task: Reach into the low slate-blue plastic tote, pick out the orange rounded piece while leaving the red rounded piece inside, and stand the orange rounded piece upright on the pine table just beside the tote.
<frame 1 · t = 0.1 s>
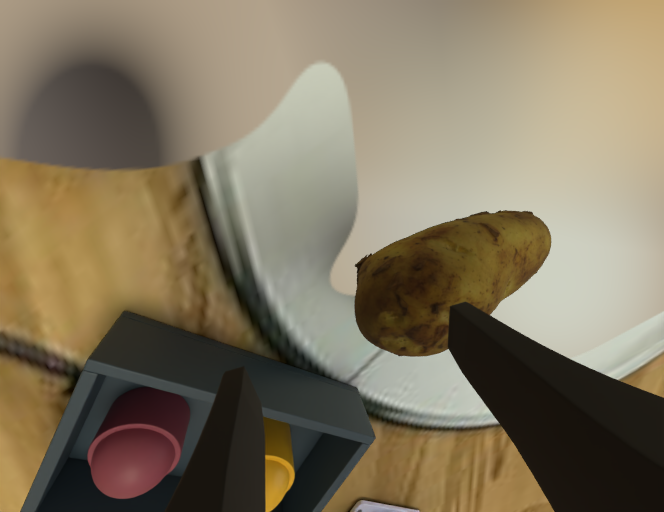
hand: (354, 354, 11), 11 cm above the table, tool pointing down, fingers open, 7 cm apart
orange rounded piece: (258, 434, 24), point 1 cm above the table, touching tote
red rounded piece: (150, 415, 22), point 1 cm above the table, touching tote
potato: (424, 253, 23), on the table
tote: (218, 418, 24), on the table
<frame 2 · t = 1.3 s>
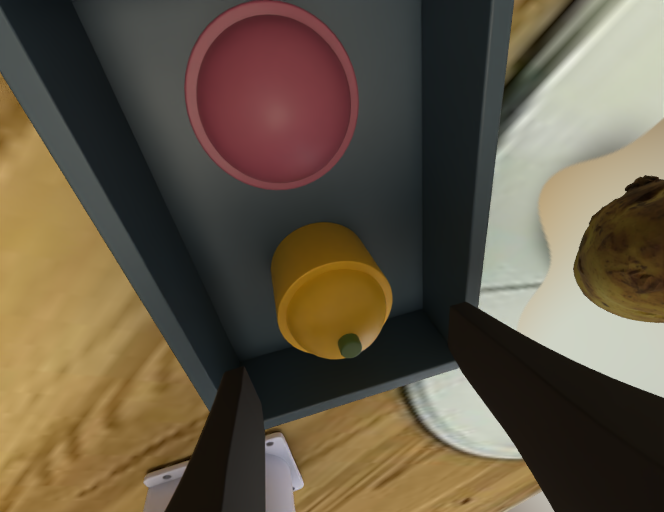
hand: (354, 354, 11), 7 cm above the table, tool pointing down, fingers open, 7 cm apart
orange rounded piece: (319, 266, 16), point 1 cm above the table, touching tote
red rounded piece: (270, 99, 12), point 1 cm above the table, touching tote
potato: (596, 236, 21), on the table
tote: (305, 202, 15), on the table
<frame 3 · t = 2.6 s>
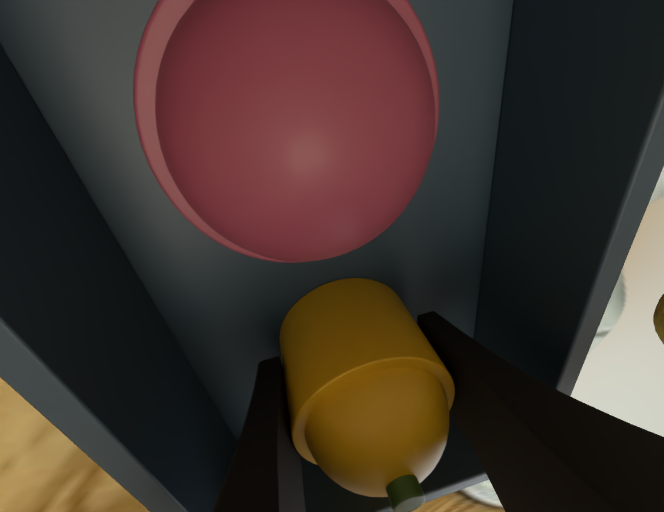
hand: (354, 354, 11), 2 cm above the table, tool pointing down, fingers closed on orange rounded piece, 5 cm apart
orange rounded piece: (343, 330, 12), point 1 cm above the table, touching gripper, tote
red rounded piece: (284, 113, 8), point 1 cm above the table, touching tote
tote: (327, 250, 11), on the table
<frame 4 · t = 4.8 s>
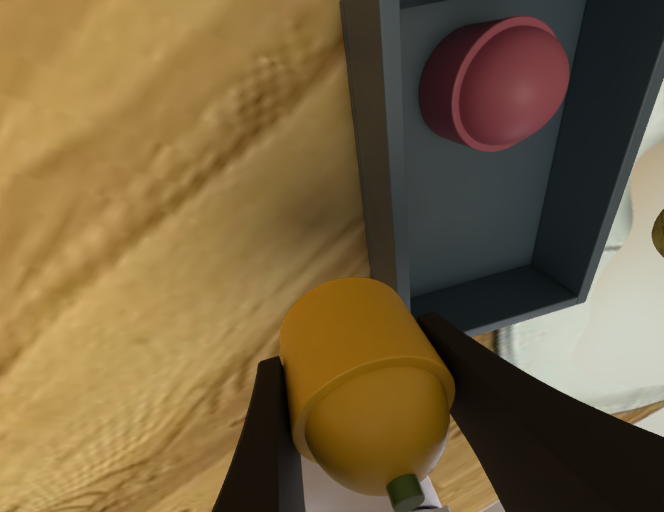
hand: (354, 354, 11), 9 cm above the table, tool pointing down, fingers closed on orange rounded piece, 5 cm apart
orange rounded piece: (344, 330, 12), point 8 cm above the table, touching gripper
red rounded piece: (465, 86, 16), point 1 cm above the table, touching tote
tote: (462, 170, 19), on the table
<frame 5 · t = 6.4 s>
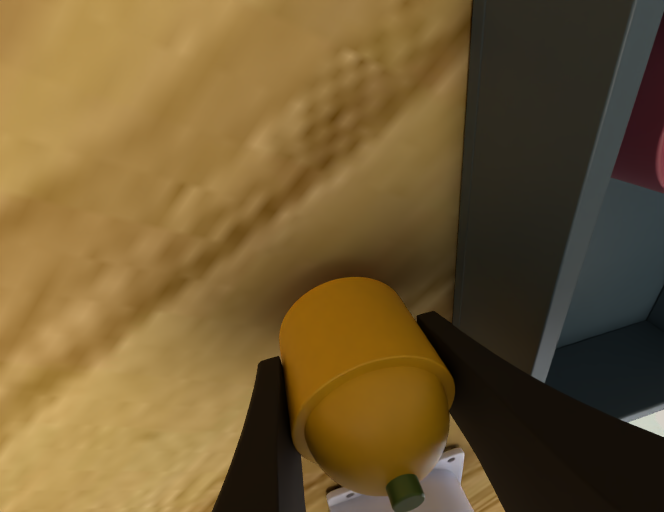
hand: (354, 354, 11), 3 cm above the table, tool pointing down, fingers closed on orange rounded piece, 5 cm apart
orange rounded piece: (343, 330, 12), point 1 cm above the table, touching gripper
red rounded piece: (630, 96, 11), point 1 cm above the table, touching tote
tote: (590, 208, 14), on the table
when the fingers open (1 cm above the table, at t = 7.3 s): orange rounded piece stays where it is, on the table.
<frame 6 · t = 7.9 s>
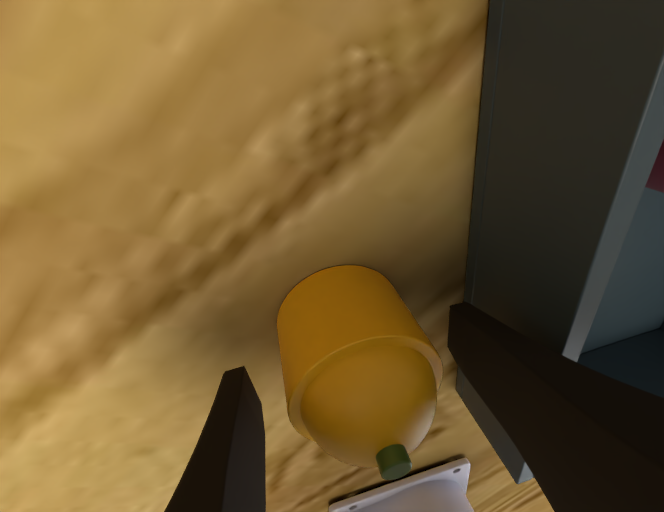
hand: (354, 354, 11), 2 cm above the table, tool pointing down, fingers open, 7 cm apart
orange rounded piece: (339, 317, 13), on the table
red rounded piece: (653, 97, 10), point 1 cm above the table, touching tote
tote: (606, 214, 13), on the table
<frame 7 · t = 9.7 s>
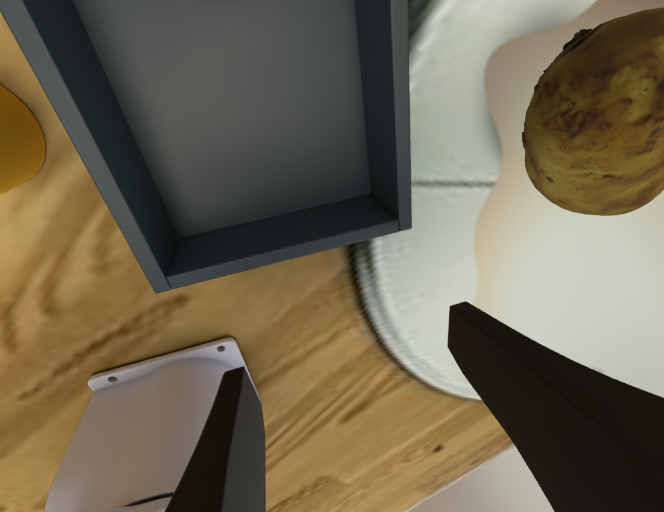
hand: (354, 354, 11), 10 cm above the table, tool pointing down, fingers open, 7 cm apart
potato: (548, 132, 21), on the table
tote: (236, 49, 15), on the table
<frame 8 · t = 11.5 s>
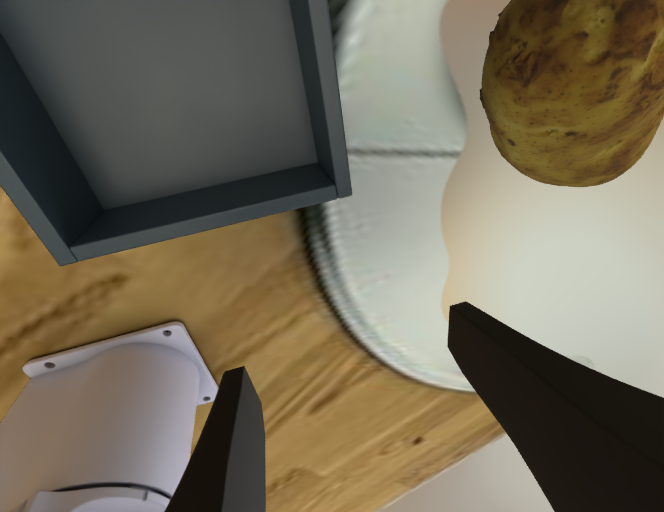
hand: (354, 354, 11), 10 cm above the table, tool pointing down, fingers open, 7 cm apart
potato: (517, 95, 19), on the table
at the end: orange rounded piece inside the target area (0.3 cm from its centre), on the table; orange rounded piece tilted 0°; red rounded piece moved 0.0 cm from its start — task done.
